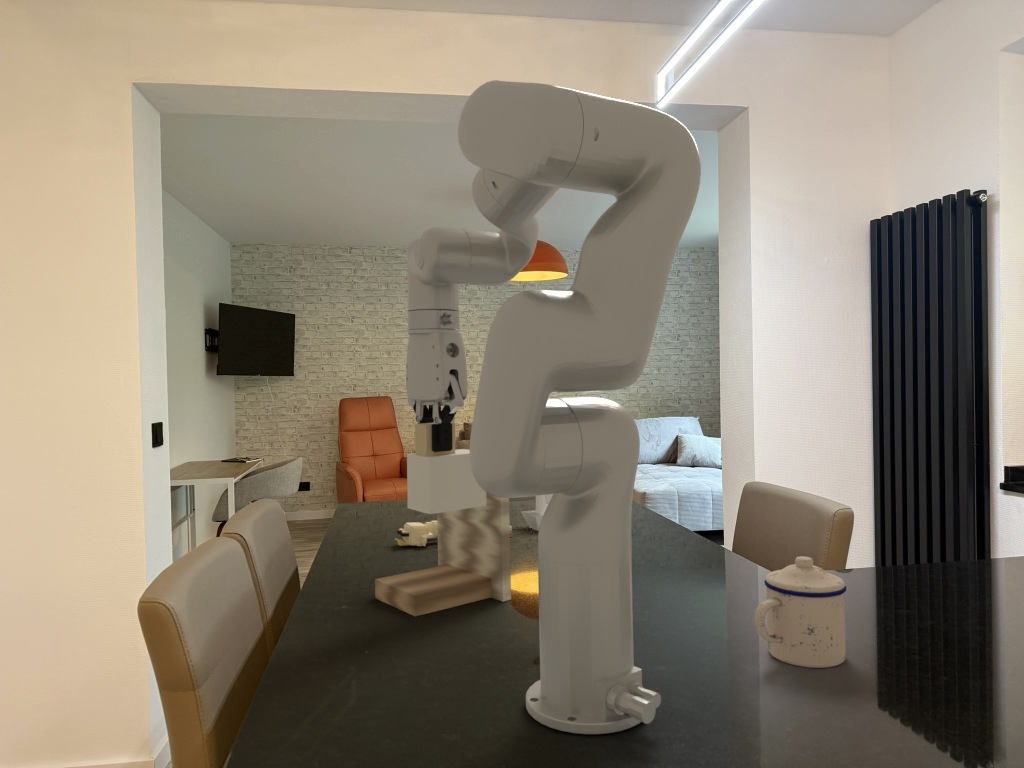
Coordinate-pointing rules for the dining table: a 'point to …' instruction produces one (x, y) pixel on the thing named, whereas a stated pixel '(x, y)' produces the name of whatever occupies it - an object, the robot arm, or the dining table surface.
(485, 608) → the dining table surface
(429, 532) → the cat figure
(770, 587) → the teacup with lid
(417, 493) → the beige and white blocks
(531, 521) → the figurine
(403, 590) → the wooden l-shaped stand
